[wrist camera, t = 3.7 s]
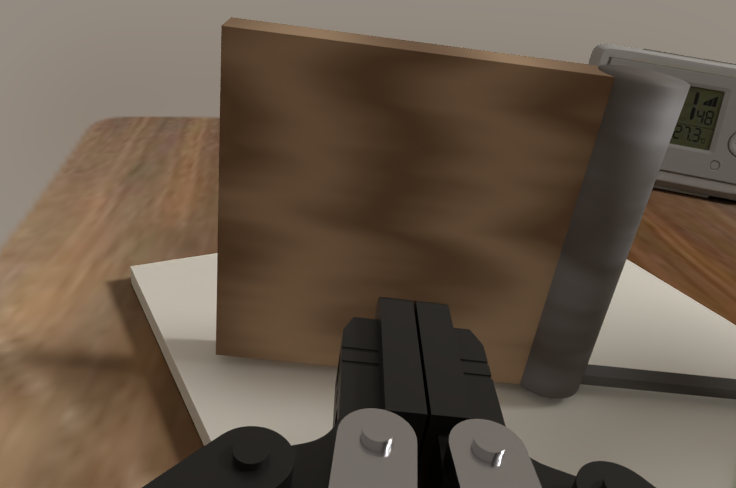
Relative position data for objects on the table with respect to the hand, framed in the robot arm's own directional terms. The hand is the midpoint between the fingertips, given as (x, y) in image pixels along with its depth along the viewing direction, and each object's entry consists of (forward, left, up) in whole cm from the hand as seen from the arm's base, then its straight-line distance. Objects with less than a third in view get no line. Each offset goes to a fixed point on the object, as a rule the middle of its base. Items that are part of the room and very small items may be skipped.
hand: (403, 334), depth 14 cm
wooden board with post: (-11, -5, -9) cm, 15 cm away
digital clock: (-44, -23, -11) cm, 50 cm away
